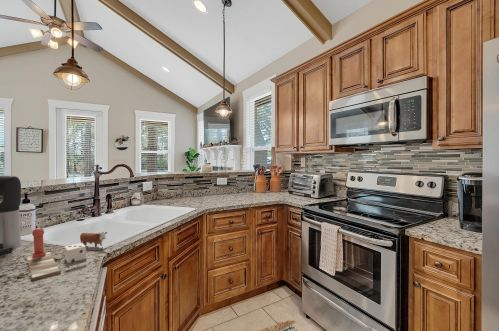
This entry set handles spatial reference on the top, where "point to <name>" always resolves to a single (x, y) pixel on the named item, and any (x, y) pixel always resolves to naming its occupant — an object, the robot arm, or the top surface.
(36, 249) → the pawn
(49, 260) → the track board
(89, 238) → the bull figurine
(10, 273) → the top surface
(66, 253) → the die
